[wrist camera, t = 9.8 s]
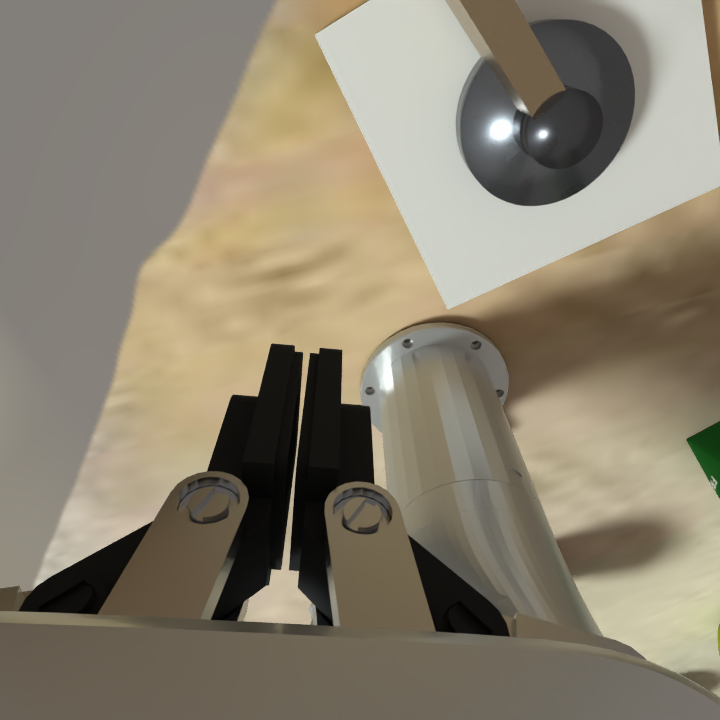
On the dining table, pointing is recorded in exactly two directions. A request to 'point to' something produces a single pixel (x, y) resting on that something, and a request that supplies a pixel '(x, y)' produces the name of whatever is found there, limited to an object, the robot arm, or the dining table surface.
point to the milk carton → (708, 453)
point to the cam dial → (540, 103)
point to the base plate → (447, 168)
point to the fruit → (719, 638)
